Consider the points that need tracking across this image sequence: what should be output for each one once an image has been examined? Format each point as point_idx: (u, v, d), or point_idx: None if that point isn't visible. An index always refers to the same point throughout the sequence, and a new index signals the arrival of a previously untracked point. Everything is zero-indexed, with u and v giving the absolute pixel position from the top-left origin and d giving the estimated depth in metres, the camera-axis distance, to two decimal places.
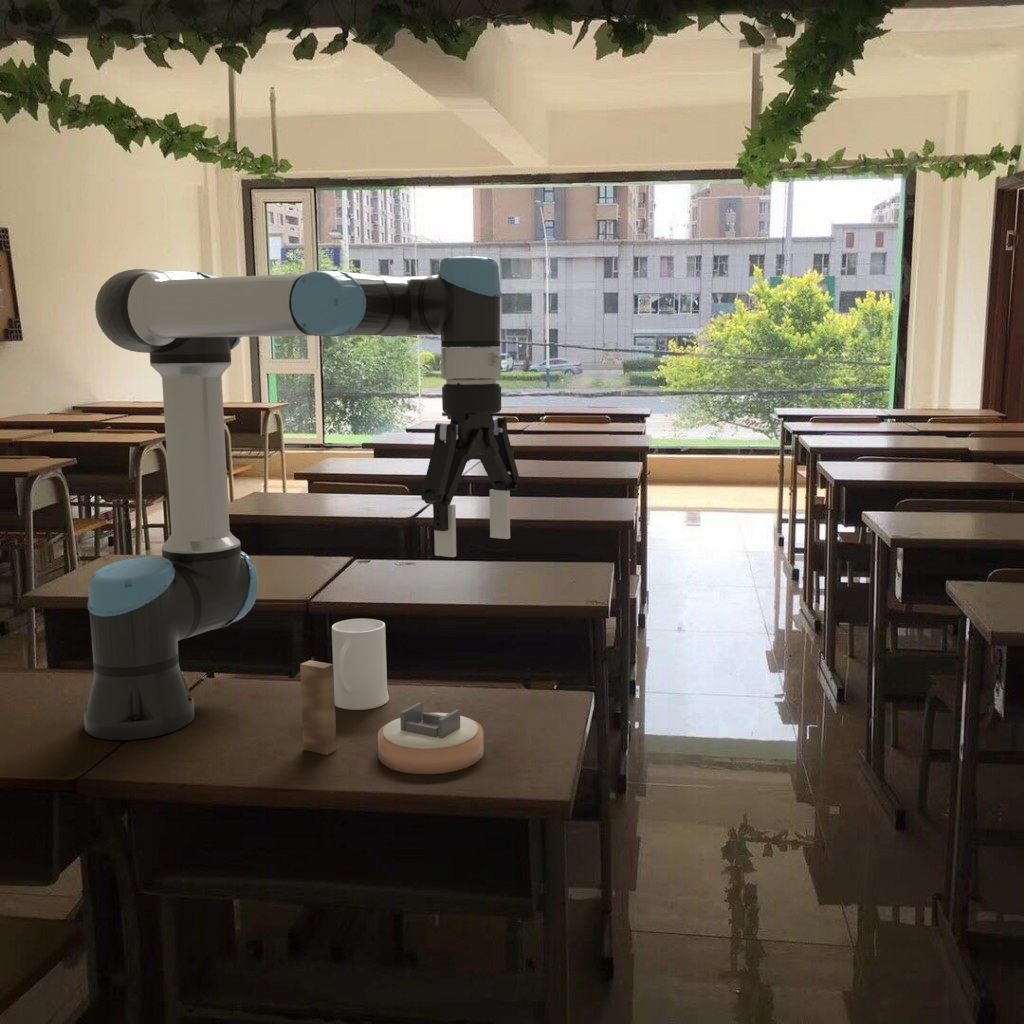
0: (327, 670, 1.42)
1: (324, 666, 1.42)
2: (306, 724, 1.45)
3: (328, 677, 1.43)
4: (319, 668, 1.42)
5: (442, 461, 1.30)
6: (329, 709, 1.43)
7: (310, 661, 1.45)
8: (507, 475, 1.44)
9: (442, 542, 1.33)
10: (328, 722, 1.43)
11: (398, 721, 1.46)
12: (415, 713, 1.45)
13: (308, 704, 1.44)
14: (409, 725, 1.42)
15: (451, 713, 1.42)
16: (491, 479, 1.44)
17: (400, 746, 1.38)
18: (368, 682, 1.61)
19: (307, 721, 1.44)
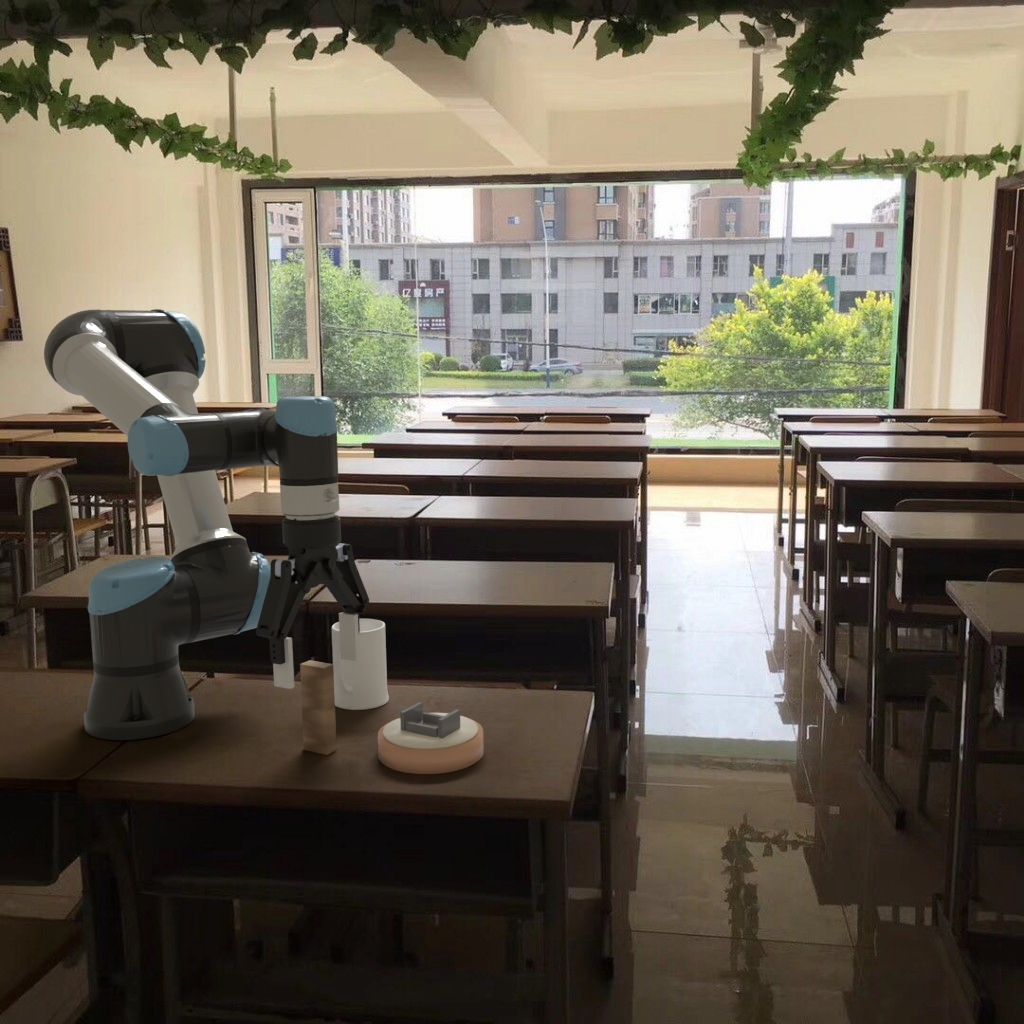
0: (327, 670, 1.42)
1: (324, 666, 1.42)
2: (306, 724, 1.45)
3: (328, 677, 1.43)
4: (319, 668, 1.42)
5: (276, 597, 1.34)
6: (329, 709, 1.43)
7: (310, 661, 1.45)
8: (354, 600, 1.47)
9: (280, 674, 1.37)
10: (328, 722, 1.43)
11: (398, 721, 1.46)
12: (415, 713, 1.45)
13: (308, 704, 1.44)
14: (409, 725, 1.42)
15: (451, 713, 1.42)
16: (339, 603, 1.48)
17: (400, 746, 1.38)
18: (368, 682, 1.61)
19: (307, 721, 1.44)
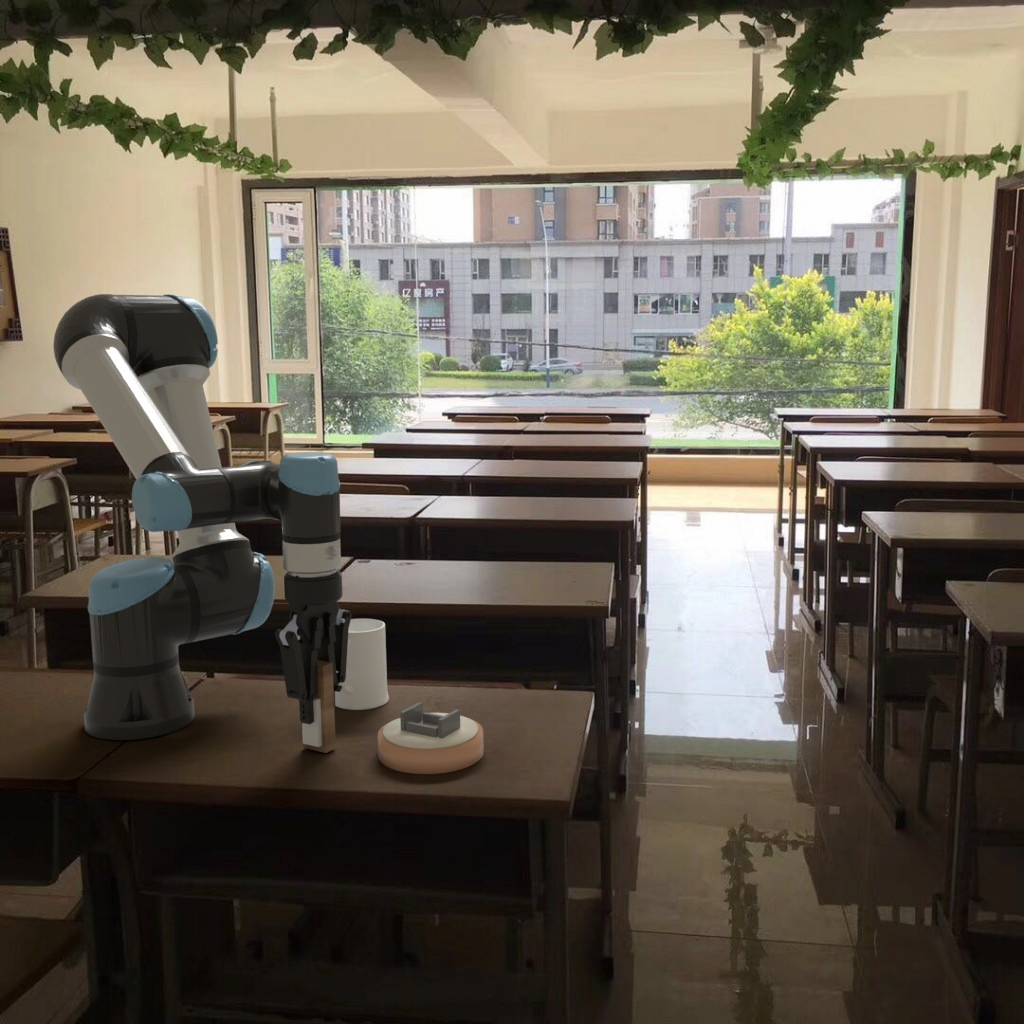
0: (326, 668, 1.42)
1: (323, 664, 1.43)
2: None
3: (327, 675, 1.43)
4: (318, 667, 1.42)
5: (293, 666, 1.39)
6: (329, 707, 1.43)
7: None
8: (334, 675, 1.45)
9: (309, 732, 1.44)
10: (327, 720, 1.43)
11: (398, 721, 1.46)
12: (415, 713, 1.45)
13: None
14: (409, 725, 1.42)
15: (451, 713, 1.42)
16: None
17: (400, 746, 1.38)
18: (368, 682, 1.61)
19: None
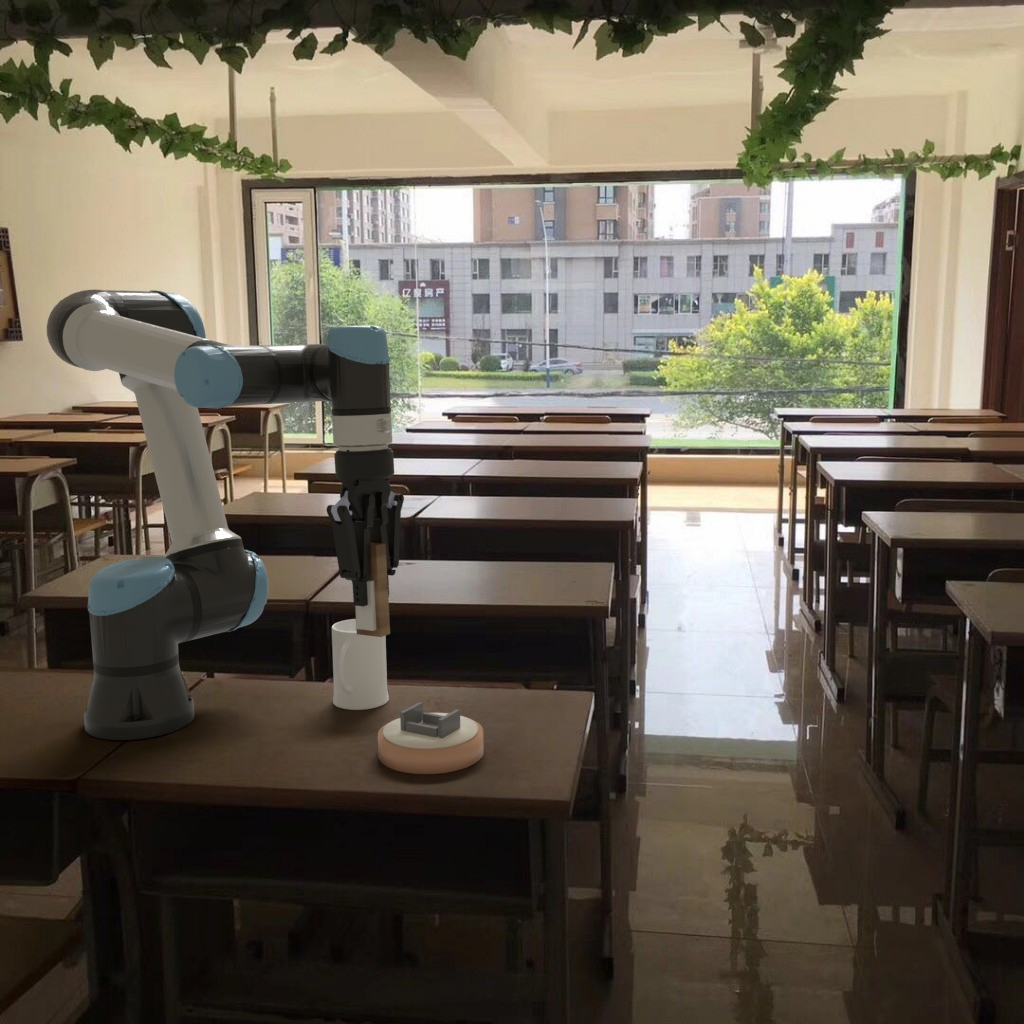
0: (379, 548, 1.38)
1: (376, 544, 1.38)
2: None
3: (380, 556, 1.39)
4: (371, 546, 1.38)
5: (346, 543, 1.35)
6: (382, 589, 1.39)
7: None
8: (387, 558, 1.41)
9: (363, 616, 1.39)
10: (381, 603, 1.39)
11: (398, 721, 1.46)
12: (415, 713, 1.45)
13: None
14: (409, 725, 1.42)
15: (451, 713, 1.42)
16: None
17: (400, 746, 1.38)
18: (368, 682, 1.61)
19: None
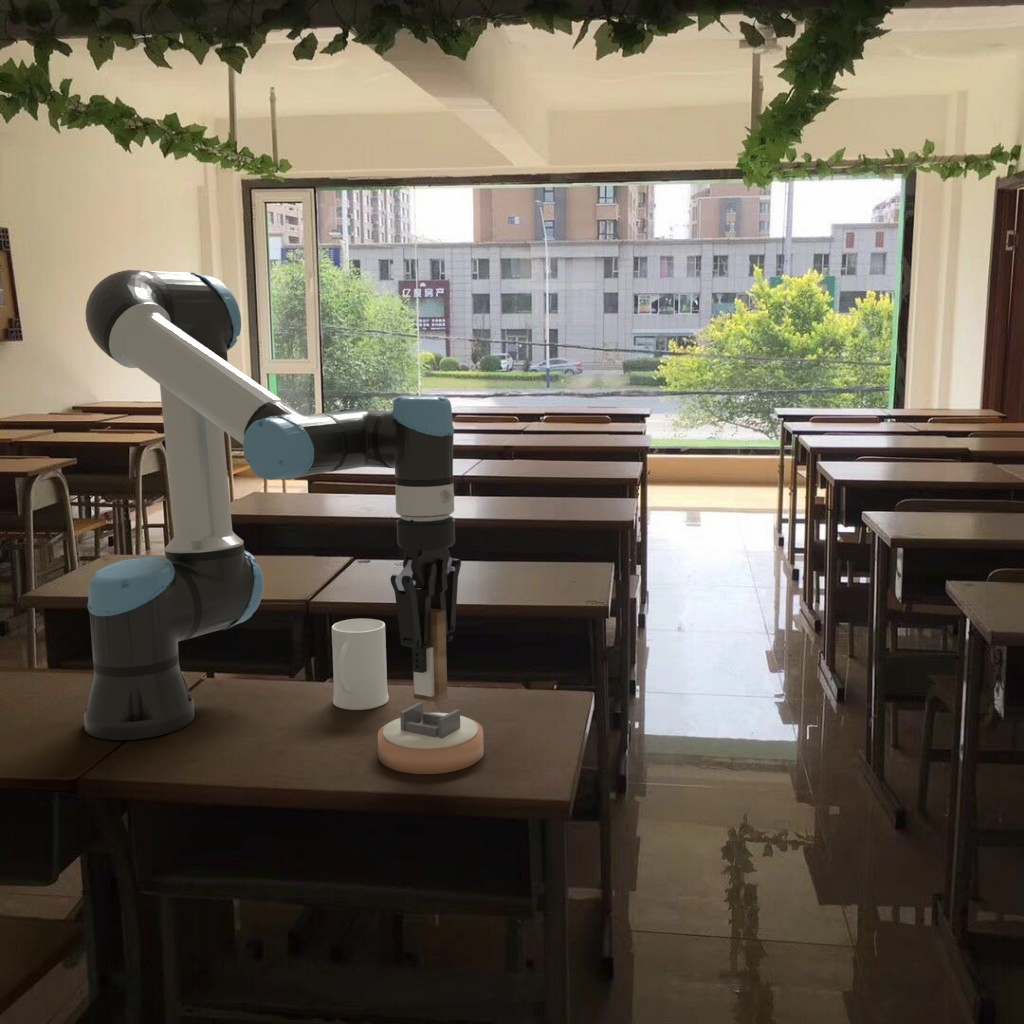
0: (440, 616, 1.40)
1: (437, 612, 1.40)
2: None
3: (441, 623, 1.40)
4: (432, 614, 1.39)
5: (409, 612, 1.36)
6: (441, 655, 1.40)
7: None
8: None
9: (421, 682, 1.41)
10: (440, 669, 1.40)
11: (398, 721, 1.46)
12: (415, 713, 1.45)
13: None
14: (409, 725, 1.42)
15: (451, 713, 1.42)
16: None
17: (400, 746, 1.38)
18: (368, 682, 1.61)
19: None
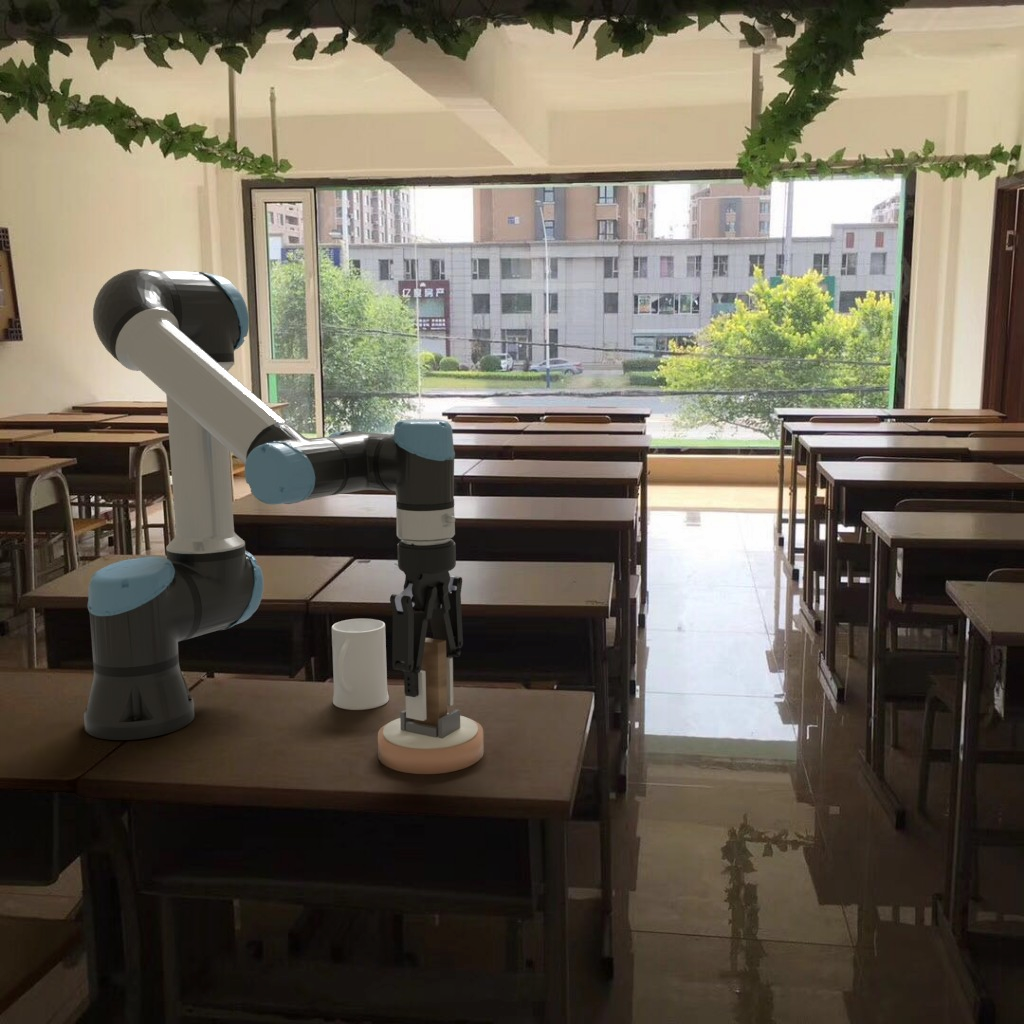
0: (440, 646, 1.41)
1: (437, 642, 1.41)
2: None
3: (441, 653, 1.41)
4: (432, 644, 1.40)
5: (404, 634, 1.35)
6: (442, 685, 1.41)
7: None
8: (452, 640, 1.44)
9: (413, 706, 1.39)
10: (441, 699, 1.41)
11: (398, 721, 1.46)
12: None
13: None
14: (409, 725, 1.42)
15: (451, 713, 1.42)
16: None
17: (400, 746, 1.38)
18: (368, 682, 1.61)
19: None
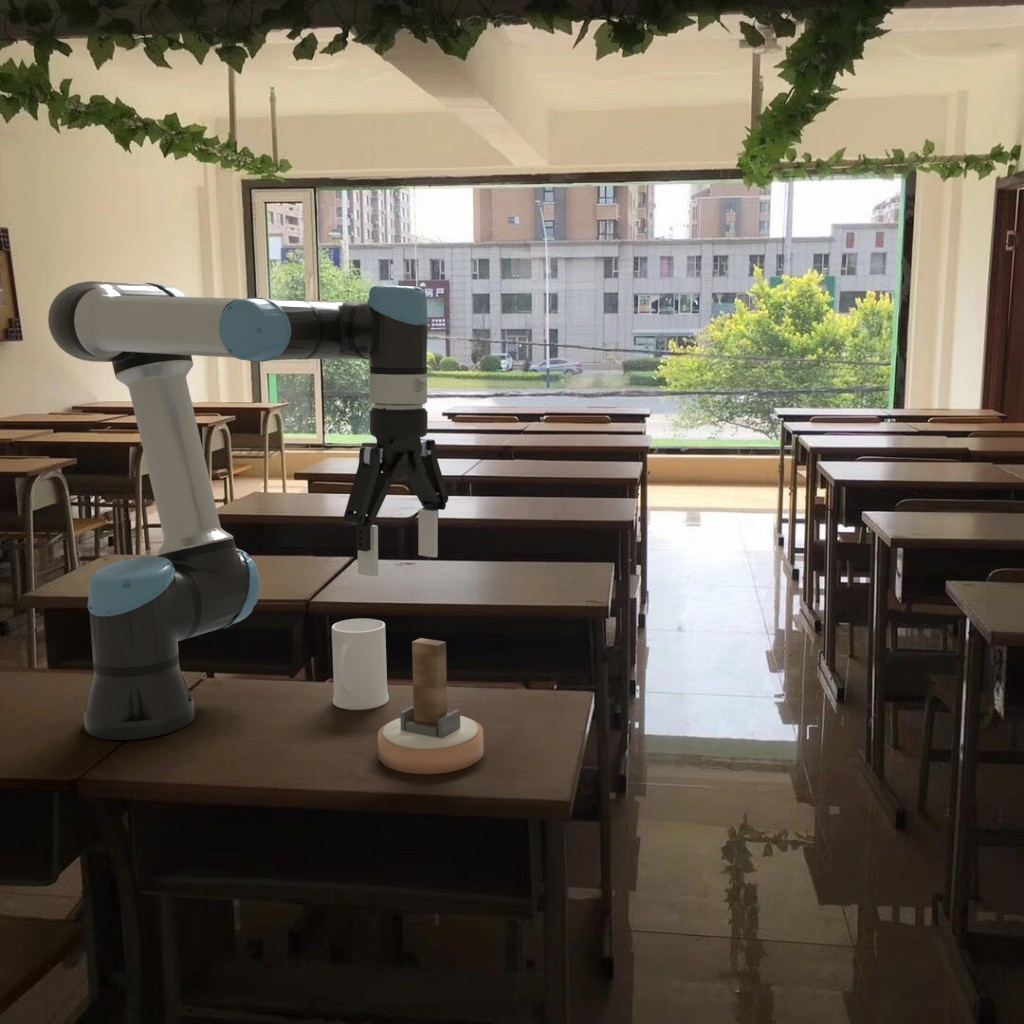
0: (440, 648, 1.40)
1: (437, 643, 1.40)
2: (417, 703, 1.42)
3: (441, 655, 1.40)
4: (432, 646, 1.40)
5: (365, 484, 1.35)
6: (442, 687, 1.41)
7: (421, 639, 1.43)
8: (435, 496, 1.48)
9: (365, 561, 1.38)
10: (441, 701, 1.41)
11: (398, 721, 1.46)
12: None
13: (420, 682, 1.42)
14: (409, 725, 1.42)
15: (451, 713, 1.42)
16: (420, 499, 1.49)
17: (400, 746, 1.38)
18: (368, 682, 1.61)
19: (418, 700, 1.42)
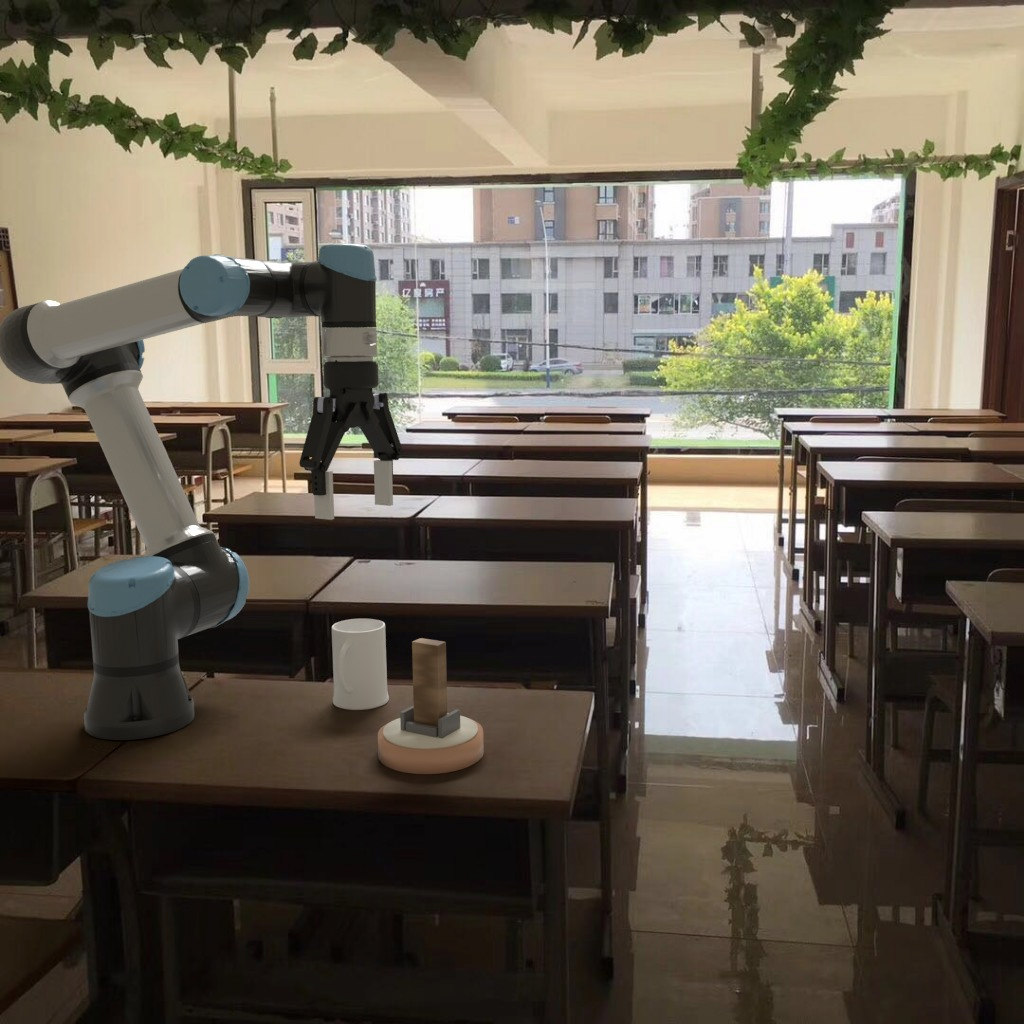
0: (440, 648, 1.40)
1: (437, 643, 1.40)
2: (417, 703, 1.42)
3: (441, 655, 1.40)
4: (432, 646, 1.40)
5: (318, 431, 1.43)
6: (442, 687, 1.41)
7: (421, 639, 1.43)
8: (389, 447, 1.56)
9: (321, 506, 1.45)
10: (441, 701, 1.41)
11: (398, 721, 1.46)
12: None
13: (420, 682, 1.42)
14: (409, 725, 1.42)
15: (451, 713, 1.42)
16: (375, 450, 1.56)
17: (400, 746, 1.38)
18: (368, 682, 1.61)
19: (418, 700, 1.42)
